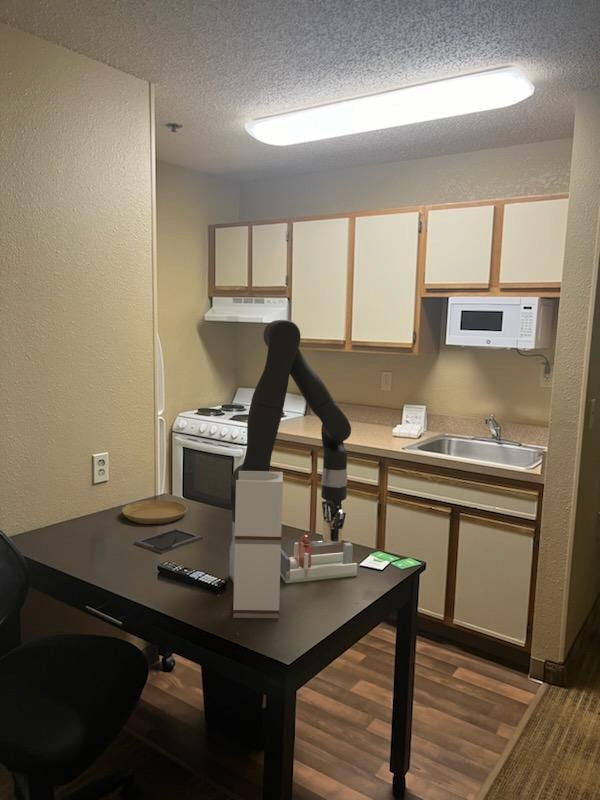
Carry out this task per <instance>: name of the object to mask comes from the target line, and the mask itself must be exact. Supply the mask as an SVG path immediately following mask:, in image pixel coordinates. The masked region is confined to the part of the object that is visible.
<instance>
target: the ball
mask: <svg viewBox="0 0 600 800" xmlns="http://www.w3.org/2000/svg"><path fill="white" fill-rule="evenodd" d="M291 569H298V562H297V561H296V560H295V559H292V558H291V559H290V570H291Z"/></svg>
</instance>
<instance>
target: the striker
mask: <svg viewBox="0 0 600 800" xmlns="http://www.w3.org/2000/svg"><path fill="white" fill-rule="evenodd" d="M322 524H323V525H322V540H317V541H316V540H315V541H311V538H310V536H309V535H308V534H304V535H302V536H301V538H300V542H298V543H299V548H298V557H299V565H300V567H301V568H304V553H308V554H309V555H308V568H311V555H312V547H320V546H321V547H323V546H333V545H341V543H342V541H343V528H342V529H339V540H338V541H334V542H332V541H331V521H330V520H329V519H326V520H324V519H323V523H322Z"/></svg>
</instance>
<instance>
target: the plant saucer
mask: <svg viewBox="0 0 600 800" xmlns="http://www.w3.org/2000/svg"><path fill="white" fill-rule="evenodd" d="M121 511H122V514H123V515H124V516H125V518H127V519H128V520H129V521H131V522H134V523H137V524H143V525H158V524H159V525H160V524H168V523H171V522H175V521H178V520H179V519H181V518H182V517H183V516H184V515H185V514H186V513H187V511H188V506H187V505H186V504H184V503H182V502H178V501H175V500H165V499H164V500H163V499H153V500H152V499H150V500H142V501H135V502H132V503H129V504H127V505H125V506H123V507H122V509H121Z"/></svg>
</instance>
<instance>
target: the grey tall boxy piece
mask: <svg viewBox="0 0 600 800" xmlns="http://www.w3.org/2000/svg"><path fill="white" fill-rule="evenodd" d="M283 473H284V472H283V471H270V470H269V471H239V479H238V480H236V505H235V554H234V583H233V609H232V611H233V612H232V613H233V614H232V618H235V619H236V618H237V619H238V618H241V619H242V618H243V619H279V618H280V596H281V595H280V593H281V592H280V591H281V590H280V589H281V588H280V587H281V576H280V562H281V549H282V522H283V521H282V520H283V491H284V490H283V488H284V485H283V484H284V474H283Z"/></svg>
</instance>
